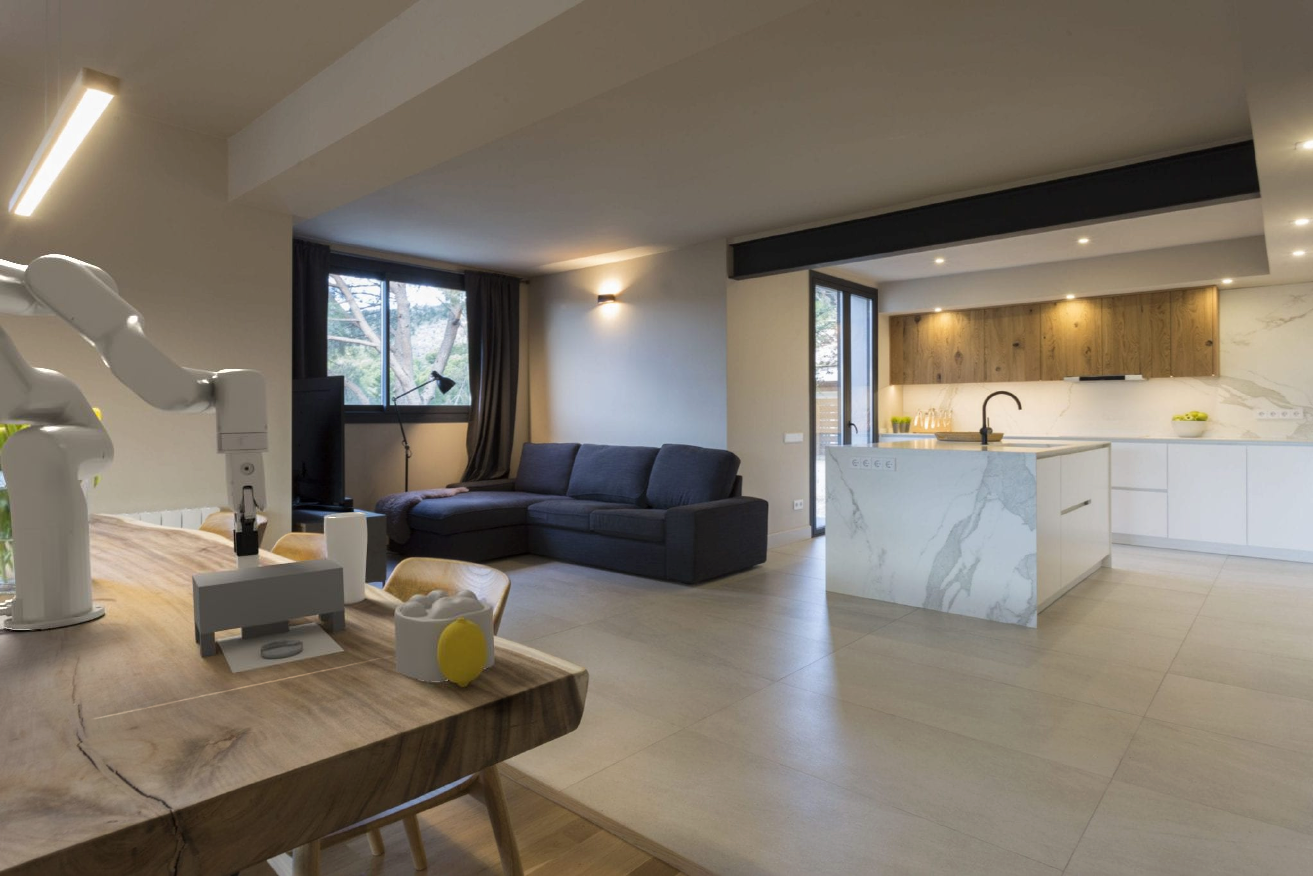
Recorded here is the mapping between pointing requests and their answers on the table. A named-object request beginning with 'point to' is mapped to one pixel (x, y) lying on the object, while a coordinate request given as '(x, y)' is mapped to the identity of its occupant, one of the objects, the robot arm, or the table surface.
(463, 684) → the lemon
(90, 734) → the table surface
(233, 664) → the mat
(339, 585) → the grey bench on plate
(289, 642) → the disc
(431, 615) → the lumpy-topped squat cylinder
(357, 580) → the drinking glass
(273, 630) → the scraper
